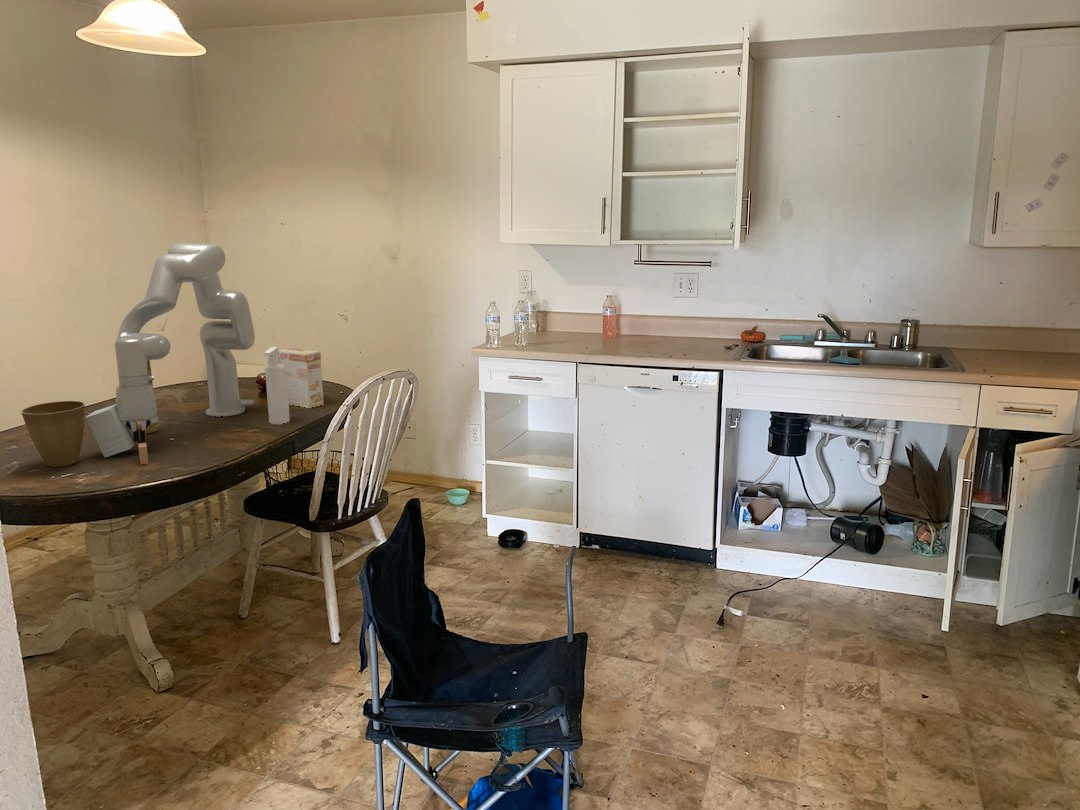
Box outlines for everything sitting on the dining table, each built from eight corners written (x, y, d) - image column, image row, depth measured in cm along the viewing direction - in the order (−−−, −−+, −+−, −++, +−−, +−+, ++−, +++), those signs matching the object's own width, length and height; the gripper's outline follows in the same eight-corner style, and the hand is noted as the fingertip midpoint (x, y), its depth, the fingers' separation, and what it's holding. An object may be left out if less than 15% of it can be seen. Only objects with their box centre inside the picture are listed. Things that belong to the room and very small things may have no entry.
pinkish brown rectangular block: (146, 436, 247) (144, 420, 246) (148, 464, 221) (146, 446, 220) (139, 437, 246) (137, 421, 245) (140, 465, 220) (138, 447, 219)
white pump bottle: (298, 416, 271) (290, 343, 265) (284, 426, 260) (275, 351, 253) (279, 416, 272) (270, 343, 265) (264, 426, 260) (254, 351, 254)
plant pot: (86, 468, 217) (77, 411, 213) (24, 474, 213) (13, 416, 209) (99, 451, 231) (90, 397, 226) (40, 457, 227) (30, 402, 222)
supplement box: (137, 442, 234) (118, 402, 230) (129, 450, 226) (109, 409, 223) (112, 450, 233) (93, 411, 230) (103, 458, 226) (83, 417, 222)
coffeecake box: (324, 405, 288) (321, 351, 283) (309, 409, 282) (305, 354, 277) (295, 399, 295) (292, 347, 291) (280, 403, 290) (276, 350, 285)
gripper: (162, 376, 235) (168, 437, 239) (104, 380, 228) (111, 443, 232) (163, 381, 228) (169, 443, 232) (103, 385, 222) (111, 449, 226)
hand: (140, 443), depth 232 cm, fingers closed
